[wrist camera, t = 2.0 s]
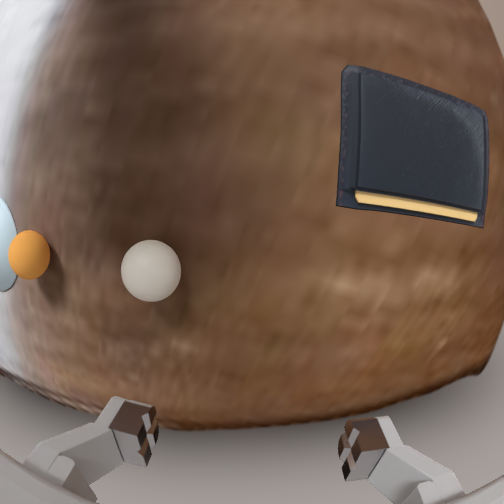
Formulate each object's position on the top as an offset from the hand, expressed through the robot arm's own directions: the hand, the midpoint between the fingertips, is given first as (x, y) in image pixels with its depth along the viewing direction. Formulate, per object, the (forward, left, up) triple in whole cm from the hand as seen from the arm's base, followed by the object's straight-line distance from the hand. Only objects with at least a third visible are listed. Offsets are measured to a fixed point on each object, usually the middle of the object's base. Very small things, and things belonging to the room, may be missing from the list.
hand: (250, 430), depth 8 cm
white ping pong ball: (-7, -7, -17) cm, 19 cm away
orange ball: (-18, -18, -17) cm, 30 cm away
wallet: (+1, +22, -20) cm, 30 cm away
